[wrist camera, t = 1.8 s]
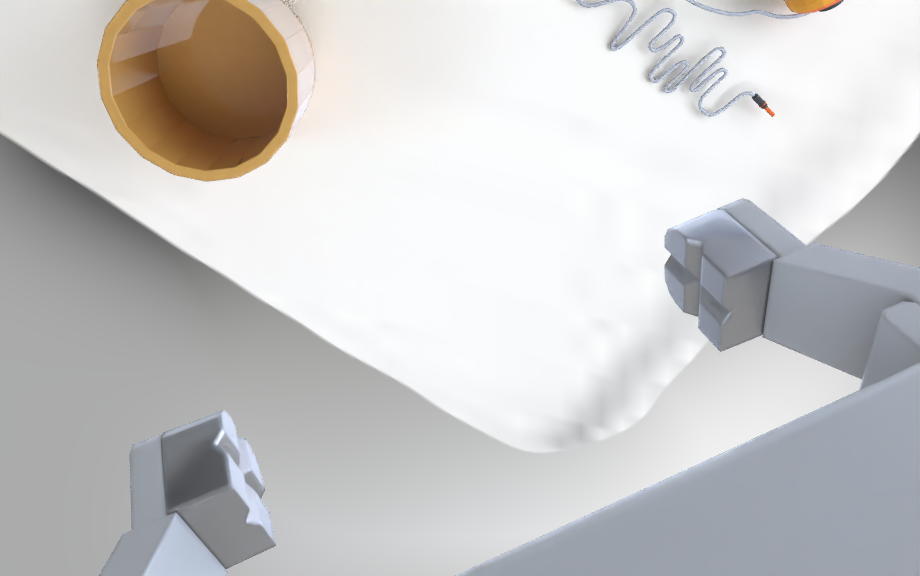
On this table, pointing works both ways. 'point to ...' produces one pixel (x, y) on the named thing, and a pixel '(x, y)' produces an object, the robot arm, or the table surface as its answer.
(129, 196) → the table surface
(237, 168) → the ochre crock
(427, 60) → the table surface
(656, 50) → the headphones
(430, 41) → the table surface
